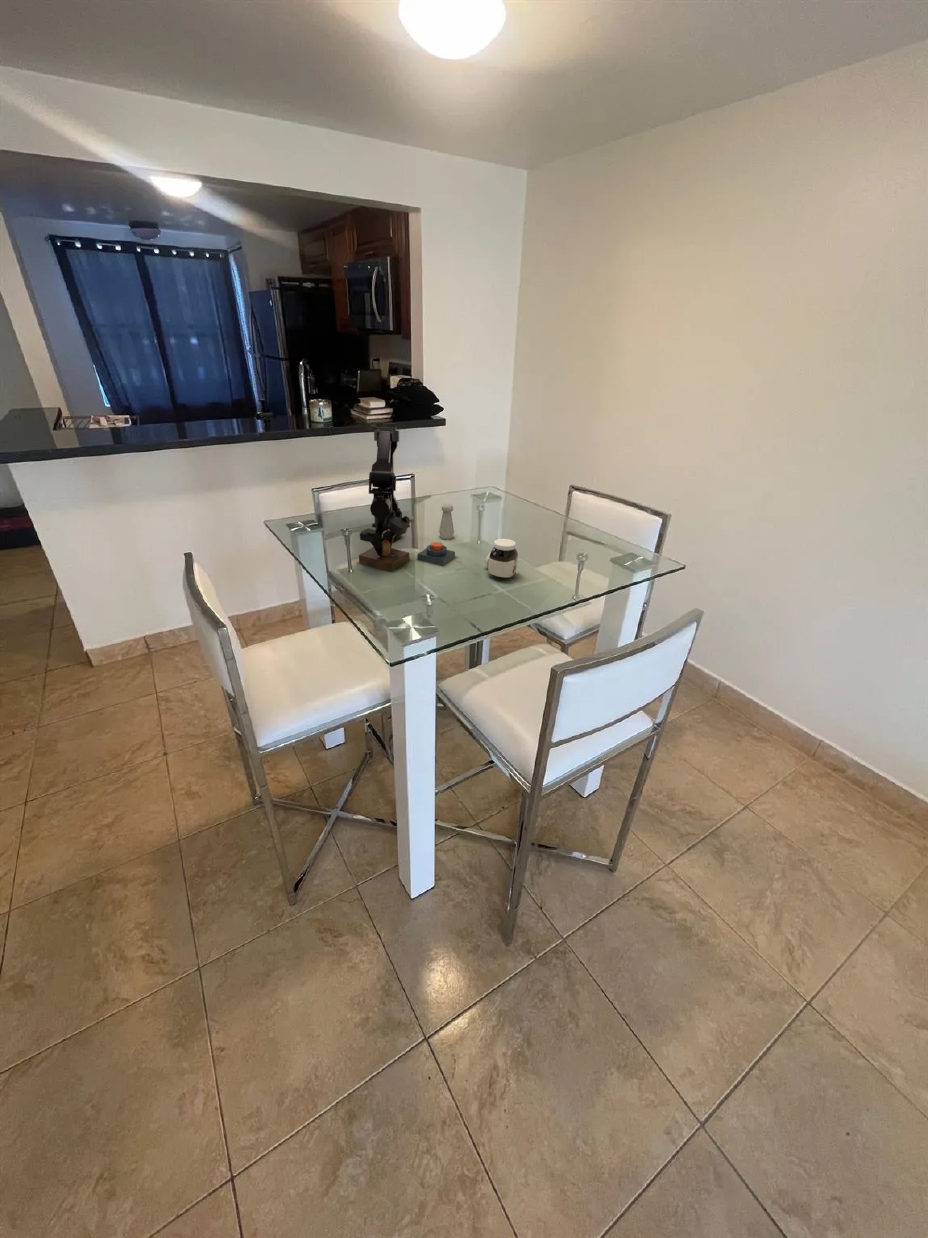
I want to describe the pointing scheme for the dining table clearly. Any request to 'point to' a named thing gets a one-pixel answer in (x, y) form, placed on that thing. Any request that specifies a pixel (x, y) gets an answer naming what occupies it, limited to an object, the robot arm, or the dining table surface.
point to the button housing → (436, 555)
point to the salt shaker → (446, 522)
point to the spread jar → (502, 559)
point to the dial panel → (384, 559)
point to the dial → (386, 548)
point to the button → (436, 546)
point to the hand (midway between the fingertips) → (384, 553)
